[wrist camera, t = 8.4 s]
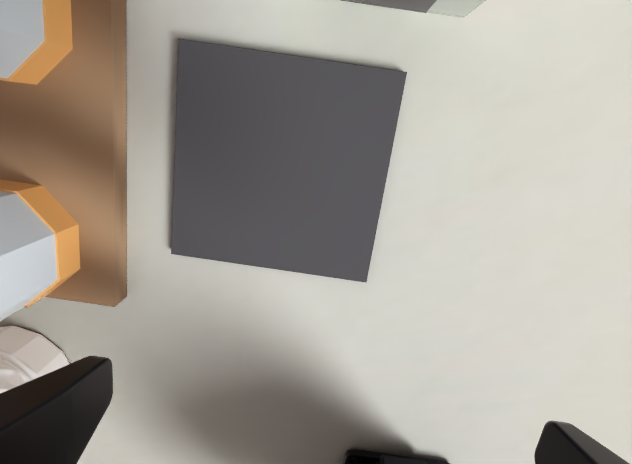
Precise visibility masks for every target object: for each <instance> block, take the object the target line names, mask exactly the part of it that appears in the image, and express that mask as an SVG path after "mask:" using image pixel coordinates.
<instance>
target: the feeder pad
mask: <svg viewBox="0 0 632 464" xmlns="http://www.w3.org/2000/svg"><path fill="white" fill-rule="evenodd" d="M406 74H407V72H402V71H395V70H389V69H382V68H375V67H368V66H361V65H355V64H348V63H341V62H334V61H327V60H320V59H314V58H307V57H300V56H293V55H286V54H280V53H273V52H266V51H259V50H252V49H246V48H239V47H232V46H225V45H218V44H211V43H205V42H198V41H191V40H184V39H179V42H178V71H177V101H176V130H175V160H174V189H173V218H172V248H171V254H176V255H183V256H190V257H197V258H203V259H210V260H217V261H224V262H231V263H238V264H244V265H251V266H258V267H265V268H272V269H279V270H285V271H292V272H299V273H306V274H313V275H320V276H326V277H333V278H340V279H347V280H354V281H361V282H366V281H367V276H368V270H369V265H370V260H371V255H372V250H373V245H374V239H375V234H376V229H377V224H378V219H379V214H380V208H381V203H382V198H383V193H384V188H385V183H386V177H387V172H388V167H389V162H390V157H391V152H392V147H393V141H394V136H395V131H396V126H397V121H398V116H399V110H400V105H401V100H402V95H403V90H404V85H405V79H406Z"/></svg>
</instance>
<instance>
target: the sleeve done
mask: <svg viewBox="0 0 632 464" xmlns="http://www.w3.org/2000/svg"><path fill="white" fill-rule="evenodd" d="M79 269H80V249H79V224H78V223H77V222H76V221H75V220H74V219H73V218H72V217H71V216H70V214H69V213H68V212H67V211H66V210H65V209H64V208H63V207H62V206H61V205H60V204H59V203H58V202H57V201H56V199H55V198H54V197H53V196H52V195H51V194H50V193H49V192H48V191H47V190H46V189H45V188H44V187H43V186H42V185H36V184H29V183H22V182H15V181H8V180H1V179H0V321H2V320H3V319H5V318H7V317H8V316H10V315H12V314H13V313H15V312H16V311H18V310H20V309H21V308H23V307H26V308H27V307H29V306H31V305H32V304H34V303H35V302H37V301H39V300H40V299H42V298H44V297H45V296H47V295H48V294H50V293H51V292H52V291H54V290H55V289H56V288H57V287H58V286H60V285H61V284H62V283H63V282H65V281H66V280H67V279H68V278H70V277H71V276H72V275H73V274H74V273H76V272H77V271H78V270H79Z"/></svg>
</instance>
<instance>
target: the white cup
mask: <svg viewBox="0 0 632 464" xmlns="http://www.w3.org/2000/svg"><path fill="white" fill-rule="evenodd" d="M69 364H70V363H69V361H68V360H67V358H66V356H65V355H64V353H63V352H62V350H60V349H59V348H58V347H57V346H55V345H54V344H53V343H51V342H50V341H49V340H48V339H46V338H45V337H44V336H42V335H41V334H38V333H35V332H32V331H29V330H26V329H23V328H20V327H17V326H4V327H0V393H3V392H5V391H7V390H10V389H12V388H14V387H17V386H19V385H22V384H24V383H26V382H29V381H31V380H33V379H36V378H38V377H40V376H43V375H45V374H48V373H50V372H52V371H55V370H57V369H59V368H62V367H64V366H66V365H69Z"/></svg>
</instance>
